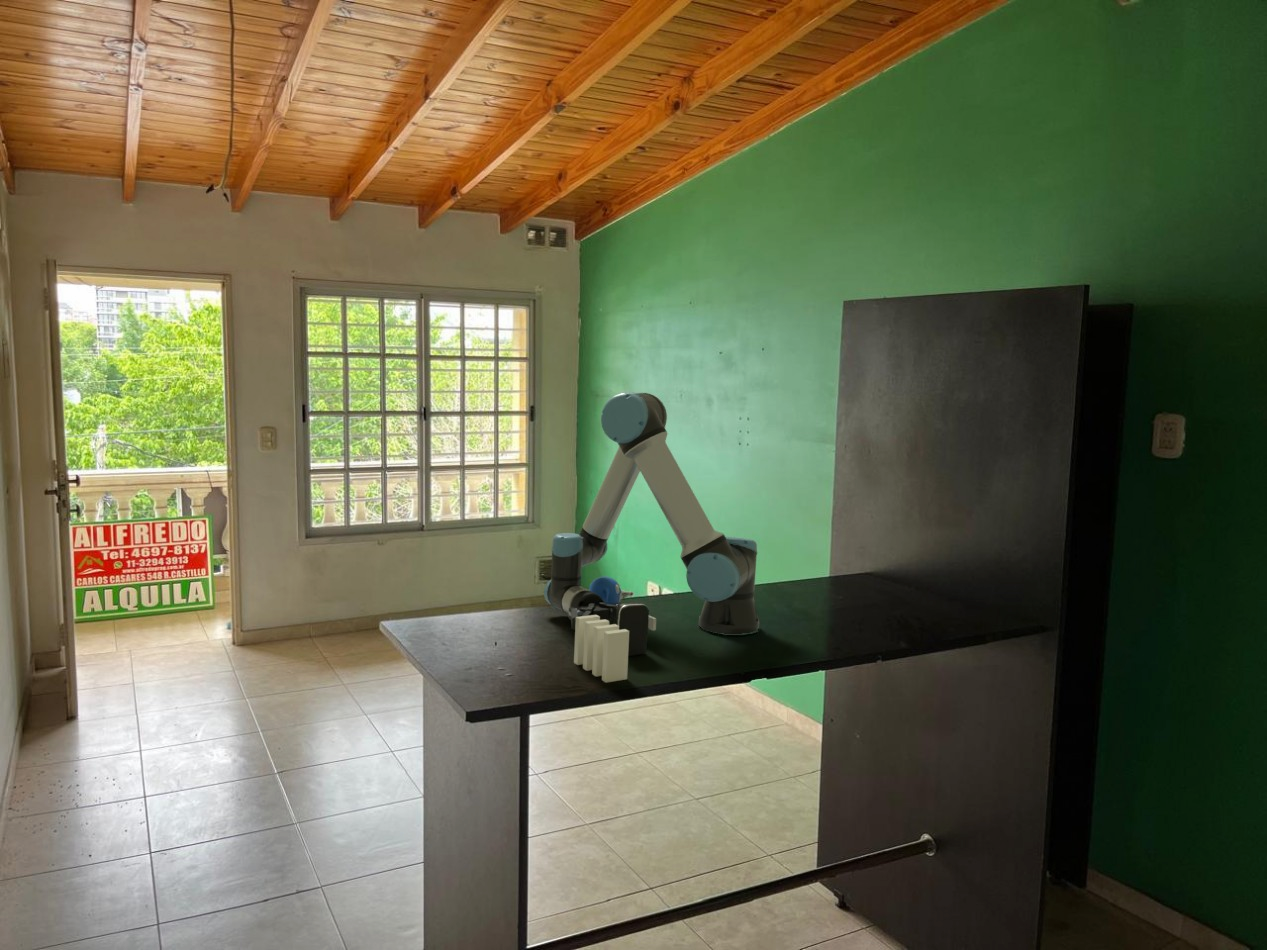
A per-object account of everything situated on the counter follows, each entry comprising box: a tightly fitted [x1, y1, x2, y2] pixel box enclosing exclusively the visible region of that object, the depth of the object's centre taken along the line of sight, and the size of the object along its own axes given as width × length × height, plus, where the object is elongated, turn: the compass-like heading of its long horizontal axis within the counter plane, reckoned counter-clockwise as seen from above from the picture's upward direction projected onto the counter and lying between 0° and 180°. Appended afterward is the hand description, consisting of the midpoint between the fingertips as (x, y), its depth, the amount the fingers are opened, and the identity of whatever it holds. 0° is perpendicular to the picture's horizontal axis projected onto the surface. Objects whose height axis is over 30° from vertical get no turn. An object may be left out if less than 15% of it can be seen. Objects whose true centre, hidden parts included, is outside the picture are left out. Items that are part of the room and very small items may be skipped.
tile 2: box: [582, 619, 610, 672], centre depth 184 cm, size 5×2×10 cm, turn 122°
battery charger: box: [615, 602, 650, 657], centre depth 195 cm, size 7×4×11 cm, turn 112°
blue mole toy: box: [588, 576, 634, 605], centre depth 234 cm, size 12×12×8 cm
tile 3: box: [591, 623, 619, 677], centre depth 181 cm, size 5×2×10 cm, turn 122°
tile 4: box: [601, 629, 629, 683], centre depth 177 cm, size 5×2×10 cm, turn 122°
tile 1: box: [573, 615, 600, 666], centre depth 187 cm, size 5×2×10 cm, turn 122°
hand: (629, 627), depth 195 cm, fingers open, 13 cm apart
